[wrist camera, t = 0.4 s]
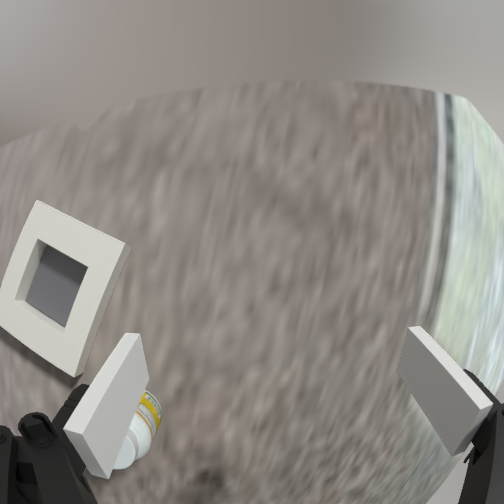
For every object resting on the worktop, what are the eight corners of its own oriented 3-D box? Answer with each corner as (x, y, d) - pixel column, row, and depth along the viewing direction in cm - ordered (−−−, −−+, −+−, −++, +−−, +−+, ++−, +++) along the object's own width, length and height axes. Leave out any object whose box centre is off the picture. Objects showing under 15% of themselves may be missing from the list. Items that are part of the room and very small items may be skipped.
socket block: (83, 372, 25) (74, 377, 23) (4, 318, 24) (-9, 318, 22) (131, 248, 28) (125, 243, 26) (46, 206, 27) (36, 199, 25)
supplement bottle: (168, 397, 26) (153, 435, 17) (154, 439, 25) (137, 487, 16) (118, 376, 26) (83, 404, 16) (106, 419, 25) (72, 457, 15)
